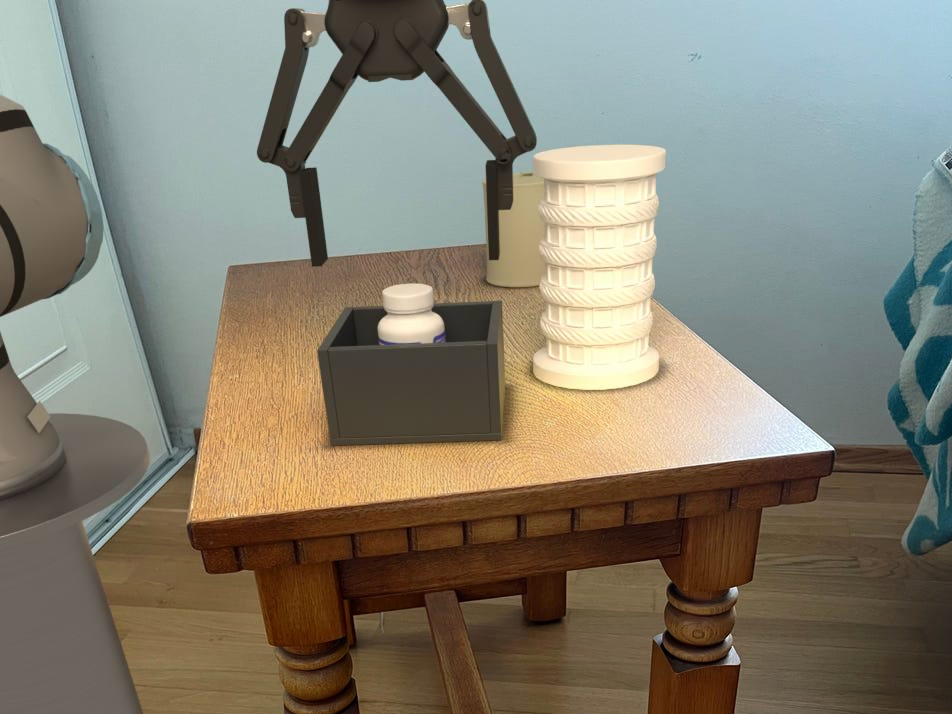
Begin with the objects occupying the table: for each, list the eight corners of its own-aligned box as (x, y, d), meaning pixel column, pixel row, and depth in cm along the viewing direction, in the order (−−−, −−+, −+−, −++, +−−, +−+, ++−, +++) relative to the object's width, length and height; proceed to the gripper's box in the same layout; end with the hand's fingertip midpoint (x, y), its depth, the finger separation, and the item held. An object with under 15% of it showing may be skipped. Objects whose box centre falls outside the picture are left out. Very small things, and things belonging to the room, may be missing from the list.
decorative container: (669, 386, 82) (683, 157, 72) (537, 393, 82) (533, 166, 72) (647, 347, 92) (657, 140, 82) (529, 354, 92) (525, 148, 82)
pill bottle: (429, 393, 82) (419, 277, 77) (462, 409, 78) (454, 288, 73) (374, 407, 80) (360, 289, 74) (406, 425, 76) (394, 301, 71)
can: (566, 271, 121) (566, 167, 114) (549, 288, 114) (548, 179, 107) (498, 269, 124) (494, 169, 117) (477, 286, 116) (471, 180, 110)
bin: (331, 445, 75) (316, 350, 70) (355, 393, 85) (344, 307, 81) (501, 440, 74) (497, 343, 70) (505, 387, 84) (502, 300, 80)
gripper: (569, -92, 63) (566, 243, 75) (207, -71, 65) (260, 254, 76) (573, -104, 57) (570, 264, 69) (172, -80, 58) (236, 276, 70)
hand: (406, 260), depth 73 cm, fingers open, 13 cm apart
